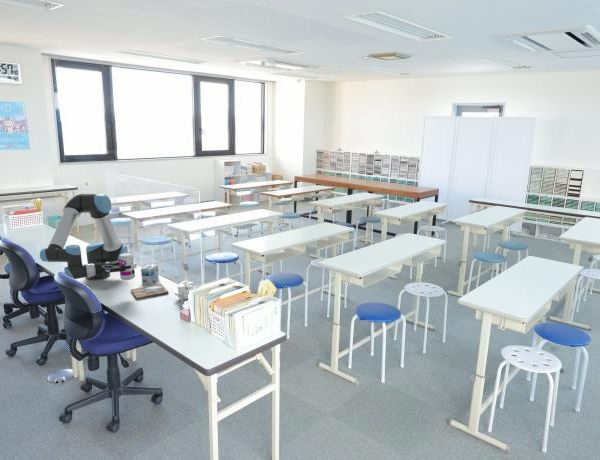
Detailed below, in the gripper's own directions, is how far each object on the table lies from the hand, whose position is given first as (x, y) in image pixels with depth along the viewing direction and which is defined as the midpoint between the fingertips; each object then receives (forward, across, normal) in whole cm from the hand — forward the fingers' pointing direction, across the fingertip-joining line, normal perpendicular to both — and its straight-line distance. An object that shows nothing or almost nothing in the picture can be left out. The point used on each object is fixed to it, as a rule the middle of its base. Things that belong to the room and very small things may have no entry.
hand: (134, 263), depth 272 cm
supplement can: (-5, 0, -9) cm, 10 cm away
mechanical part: (+23, +23, -20) cm, 38 cm away
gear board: (+7, +1, -20) cm, 21 cm away
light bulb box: (+12, -19, -20) cm, 30 cm away
